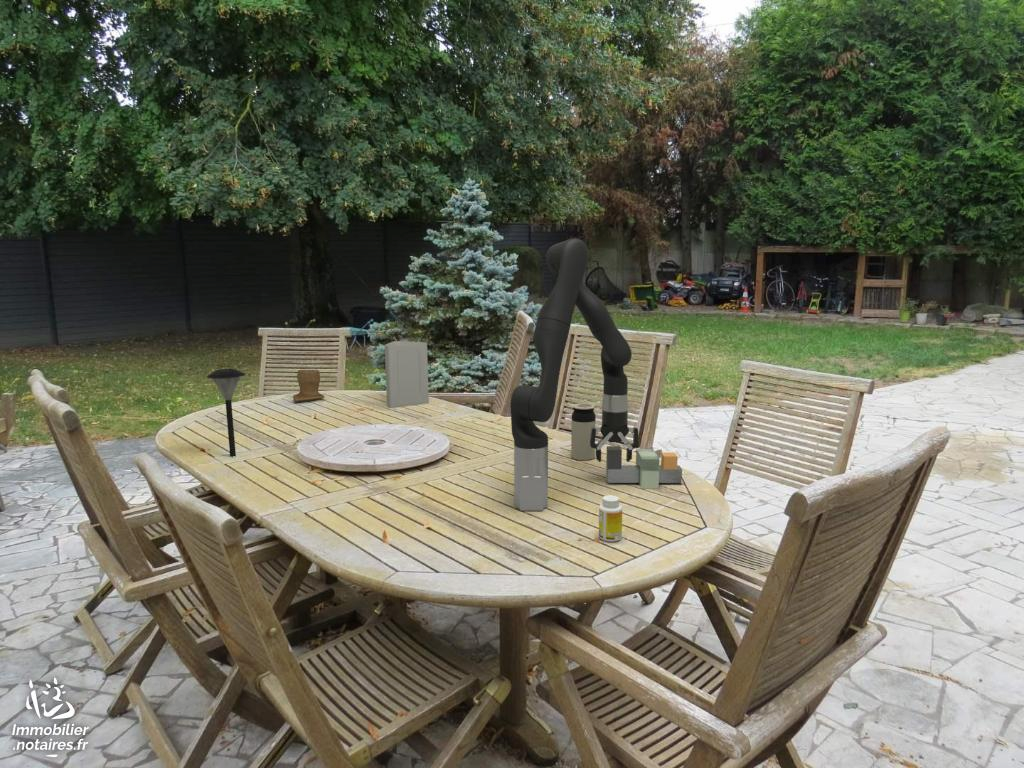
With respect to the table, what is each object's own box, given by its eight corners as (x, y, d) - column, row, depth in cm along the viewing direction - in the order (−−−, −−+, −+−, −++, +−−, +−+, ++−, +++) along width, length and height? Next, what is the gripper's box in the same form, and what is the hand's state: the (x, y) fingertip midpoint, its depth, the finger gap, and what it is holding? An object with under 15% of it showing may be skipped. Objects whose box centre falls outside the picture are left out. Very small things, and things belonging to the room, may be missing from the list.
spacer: (677, 469, 204) (677, 456, 203) (663, 469, 204) (664, 456, 203) (674, 465, 208) (674, 452, 207) (660, 465, 208) (661, 452, 207)
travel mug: (598, 456, 234) (599, 404, 231) (588, 462, 227) (589, 409, 224) (577, 452, 238) (578, 402, 235) (567, 458, 231) (567, 406, 228)
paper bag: (416, 397, 331) (414, 339, 326) (429, 403, 318) (427, 343, 313) (378, 402, 321) (376, 342, 316) (390, 408, 309) (388, 346, 303)
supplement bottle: (626, 537, 167) (627, 497, 165) (612, 544, 163) (613, 503, 161) (607, 531, 171) (608, 492, 169) (593, 538, 167) (594, 498, 165)
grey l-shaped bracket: (681, 482, 205) (682, 449, 203) (607, 482, 205) (608, 449, 203) (678, 478, 209) (680, 446, 207) (606, 478, 209) (606, 446, 207)
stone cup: (318, 396, 336) (316, 365, 333) (327, 400, 326) (325, 369, 323) (287, 400, 327) (285, 369, 324) (295, 404, 317) (293, 372, 315)
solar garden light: (212, 454, 239) (204, 369, 233) (249, 449, 244) (243, 366, 238) (215, 463, 228) (207, 374, 222) (254, 458, 233) (247, 371, 228)
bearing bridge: (658, 488, 202) (659, 459, 200) (641, 488, 202) (642, 459, 200) (651, 476, 212) (652, 448, 210) (635, 476, 212) (636, 448, 211)
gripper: (592, 411, 199) (591, 465, 202) (641, 411, 199) (639, 464, 202) (589, 405, 207) (588, 457, 210) (637, 405, 206) (635, 457, 210)
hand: (613, 461), depth 206 cm, fingers open, 8 cm apart
